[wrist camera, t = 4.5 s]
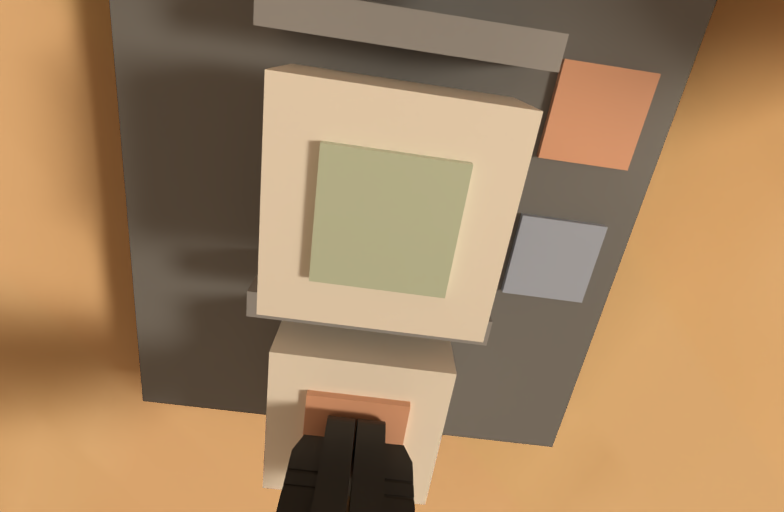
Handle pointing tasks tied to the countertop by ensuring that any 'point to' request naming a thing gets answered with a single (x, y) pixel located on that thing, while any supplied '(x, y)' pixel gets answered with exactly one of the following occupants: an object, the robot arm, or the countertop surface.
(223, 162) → the keypad board
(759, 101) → the countertop surface
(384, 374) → the key
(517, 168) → the key
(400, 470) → the robot arm
